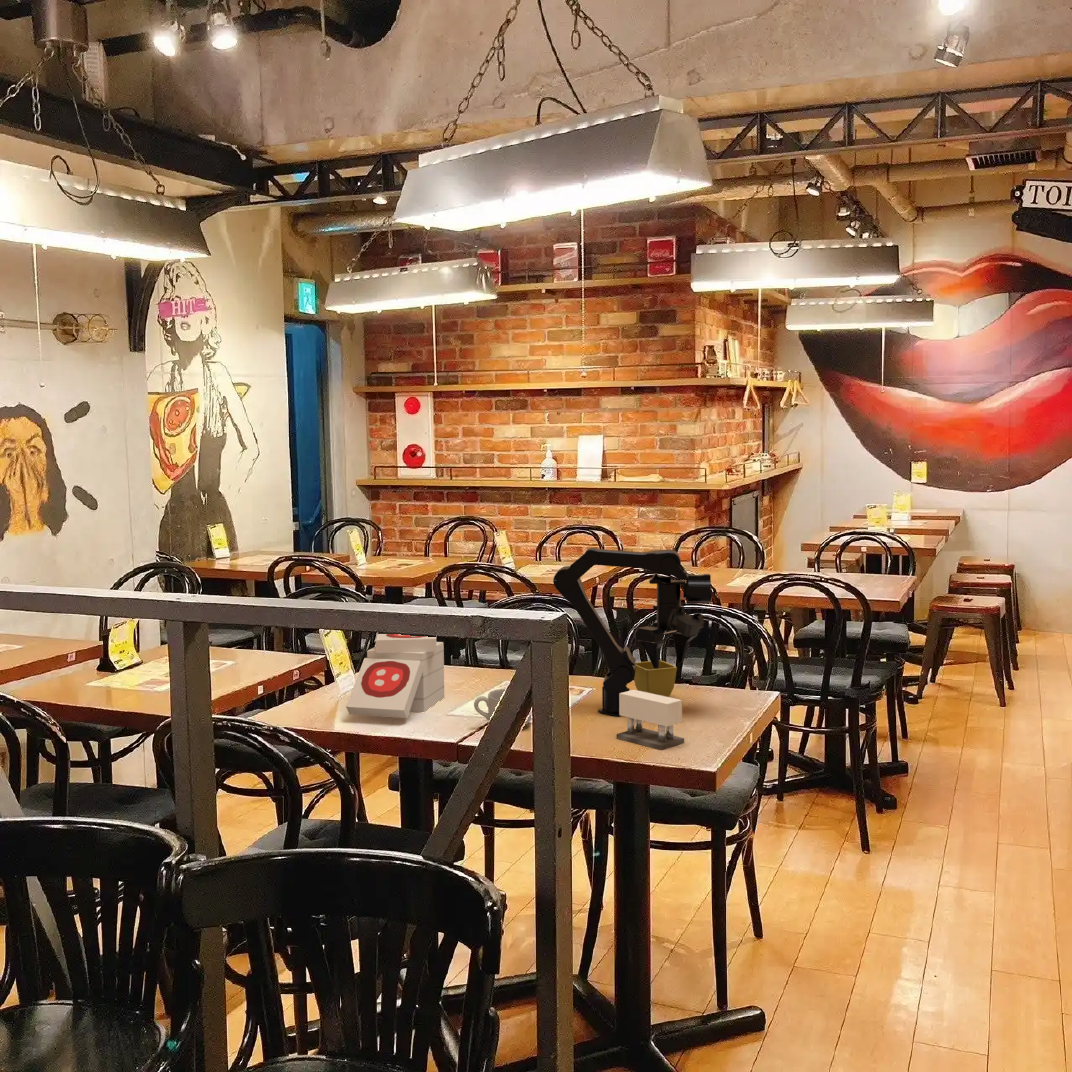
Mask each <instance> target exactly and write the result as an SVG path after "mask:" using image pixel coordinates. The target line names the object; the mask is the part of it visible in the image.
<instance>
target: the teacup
mask: <svg viewBox="0 0 1072 1072" xmlns="http://www.w3.org/2000/svg"><path fill="white" fill-rule="evenodd" d="M506 688H507V687H506ZM506 688H498V689H493V690H490V691H489V692H488V693H487V697H486V696H483V695H480V696H478V697H477V698H476V699H475V700H474V702H473V707H474V710H475V711H476V712H477V714H479V715H481V716H482V717H484V718H485V719H486V720H487V721H489V720H490V717H491V716H492V714H493V712H494V711H495V707H496V706H497V704H498V702H499V701H500V697H501V696H502V694H503V692H504V691H505V689H506ZM482 701H483V702H485V704H486V707H487V708H488V709H487V712H485V711H483V710H482V709H481V708H479V703H481V702H482ZM531 721H532V718H531V715H530V716H529V717H528V720H527V721H526V725H527V724H529V723H530V722H531Z"/></svg>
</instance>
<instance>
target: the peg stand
mask: <svg viewBox="0 0 1072 1072" xmlns="http://www.w3.org/2000/svg"><path fill="white" fill-rule="evenodd" d="M626 719H627V720H626V724H627V725H626V727H627V728H626V731H622V732H620V733H616V739H617V740H621V741H625V742H629V743H633V744H636V745H640V746H644V747H649V748H652V749H656V750H659V751H663V750H666V749H668V748H672V747H675V746H678V745H681V744H684V743H685V738H684V737H681V736H677V735H674V725H671V726H668V727H667V726H663V725H658V724H657V731H656V730H654V729H653V730H652V729H649V728H643V721H642V720H638V719H634V718H629V717H626Z"/></svg>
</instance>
